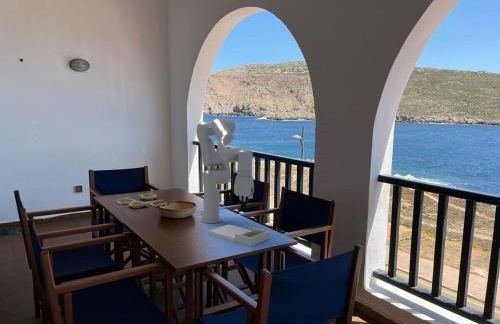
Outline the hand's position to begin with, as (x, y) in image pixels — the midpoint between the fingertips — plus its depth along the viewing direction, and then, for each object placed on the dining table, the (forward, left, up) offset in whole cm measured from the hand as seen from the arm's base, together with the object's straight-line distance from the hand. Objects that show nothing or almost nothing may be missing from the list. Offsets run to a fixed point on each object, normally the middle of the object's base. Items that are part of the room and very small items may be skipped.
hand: (243, 208), depth 196 cm
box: (+6, 0, -16) cm, 17 cm away
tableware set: (-100, +11, -17) cm, 102 cm away
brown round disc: (+4, 0, -17) cm, 17 cm away
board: (-8, 0, -16) cm, 18 cm away
